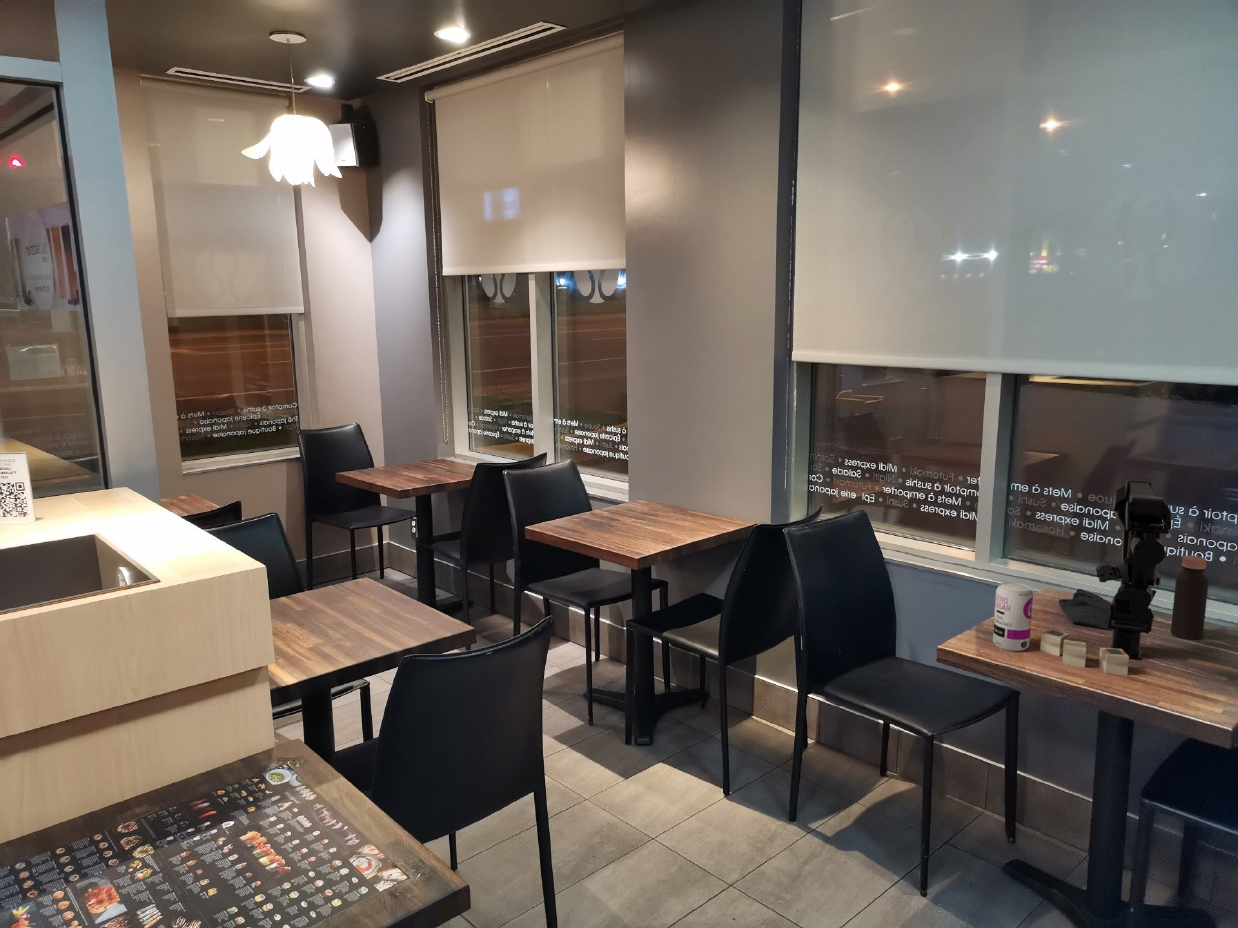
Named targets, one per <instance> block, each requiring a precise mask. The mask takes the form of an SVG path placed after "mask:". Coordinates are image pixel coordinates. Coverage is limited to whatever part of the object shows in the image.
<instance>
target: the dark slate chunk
mask: <svg viewBox="0 0 1238 928" xmlns="http://www.w3.org/2000/svg"><path fill="white" fill-rule="evenodd" d="M1072 595H1073V596H1072V599H1071V598H1069V599H1068V598H1061V599H1060V598H1059V599H1058V600H1057V601H1058V602H1059V606H1060V609H1062V611H1063V613H1064V614H1065V616H1066V617H1067V619H1068V620H1069V621H1070V622H1071V623H1073V624H1075V625H1083V626H1088V625H1089V626H1090V627H1094V628H1098V629H1103V630H1108V631H1112V630H1113V629H1108V626H1107V613H1108V609H1109V605H1110V604H1112V603H1111V602H1109V601H1108V600H1106V599H1104V597H1101V596H1100V595H1099V594H1095V593H1093V592H1091V591H1087V590H1084V589H1083V588H1077V589H1076V591H1075V592H1074V593H1073V594H1072ZM1112 621H1114V620H1112Z"/></svg>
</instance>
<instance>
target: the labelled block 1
mask: <svg viewBox="0 0 1238 928" xmlns="http://www.w3.org/2000/svg"><path fill="white" fill-rule="evenodd" d="M1040 635H1041V636H1040V649H1039V651H1040V652H1043V653H1047V654H1051V655H1054V656H1057V657H1060V656H1063V646H1064V640H1070V633H1067V632H1063V631H1060V630H1055V629H1052V628H1049V629H1047V630H1045V631H1043V632H1041V633H1040Z"/></svg>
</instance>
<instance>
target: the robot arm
mask: <svg viewBox="0 0 1238 928" xmlns="http://www.w3.org/2000/svg"><path fill="white" fill-rule="evenodd" d="M1112 511H1113V513H1114V512H1115V522H1116V523H1117V524H1118V526H1119V527H1120V529H1121V531H1122V533H1121V534H1122V535H1121V537H1122V538H1121V558H1120V559H1121V561H1120V560H1119V561H1111V562H1107V563H1102V564H1098V565H1097V567H1096V568H1095V571H1096V577H1097V578H1098V581H1099V583H1106V582H1108V581H1109V582H1110V581H1117V580H1120V586H1119V587H1118V589H1117V592H1116V593H1115V594H1114V597H1113V598H1112V604H1110V605H1109V609H1108V613H1107V626H1108V629H1113V631H1112V639H1111V641H1112V642H1111V644H1110V646H1109V648H1114V649H1122V650H1123V651H1124V652H1125V653H1126V654H1127V655H1128V656H1129V659H1134V660H1140V659H1141V656H1142V653H1143V649H1141V647H1140V646H1141V639H1142V633H1143V634H1150V633H1151V632H1152V628H1153V623H1154V619H1155V615H1154V614H1153V611H1152V608H1151V607H1149V606H1150V605H1151V603H1152V601H1153V600H1154V598H1155V596H1156V593H1157V590H1155V589H1152V587H1155V586H1158V587H1159V586H1160V584H1161V578H1162V574H1160V572H1158V570H1157V568H1158V565H1159V564H1160V563H1162V562H1164V560H1165V557H1166V549H1165V547H1164V546H1163V543H1162V541H1161V539H1160V538H1161V536H1160V535H1161V534H1163V535H1169V533H1170V532H1169V530H1171V529H1172V511H1171V509H1170V506H1169V503H1166V500H1165V499H1164V498H1163V497H1160V496H1156V492H1155V491H1154V490H1153V489H1152V482H1151V481H1148V480H1141V479H1129V480H1126V481H1125V485H1123V486H1121V487H1120V488H1118V489H1116V490H1115V493H1114V496H1113V502H1112ZM1151 586H1152V587H1151ZM1112 620H1114V621H1112Z"/></svg>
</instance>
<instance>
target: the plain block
mask: <svg viewBox="0 0 1238 928" xmlns="http://www.w3.org/2000/svg"><path fill="white" fill-rule="evenodd" d="M1086 657H1087V643H1086V642H1083V641H1077V640H1076V641H1075V640H1070V639H1069V640H1064V646H1063V654H1062V665H1065V666H1070V665H1071V666H1072V667H1079V668H1083V669H1084V668H1086ZM1071 666H1070V667H1071Z"/></svg>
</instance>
